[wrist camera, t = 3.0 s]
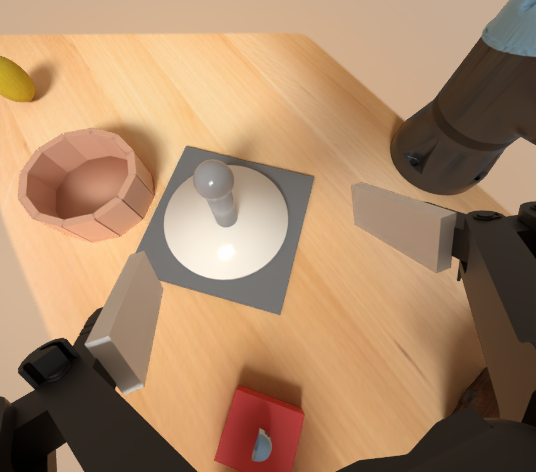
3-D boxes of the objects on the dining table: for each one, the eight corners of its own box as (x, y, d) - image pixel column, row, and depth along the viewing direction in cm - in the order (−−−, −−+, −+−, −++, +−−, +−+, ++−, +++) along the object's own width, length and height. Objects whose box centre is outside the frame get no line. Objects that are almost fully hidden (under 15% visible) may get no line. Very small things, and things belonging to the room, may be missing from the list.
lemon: (53, 95, 47) (12, 51, 39) (31, 116, 45) (-16, 74, 37) (30, 85, 47) (-14, 39, 40) (7, 105, 46) (-43, 61, 38)
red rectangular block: (301, 407, 31) (309, 426, 25) (285, 475, 28) (290, 513, 23) (238, 384, 31) (233, 397, 26) (218, 448, 29) (206, 479, 23)
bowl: (85, 146, 43) (58, 119, 37) (168, 167, 42) (153, 142, 36) (34, 226, 38) (-6, 208, 32) (127, 252, 37) (102, 238, 31)
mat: (186, 148, 43) (186, 146, 43) (313, 178, 41) (314, 177, 41) (128, 271, 36) (127, 270, 35) (280, 315, 34) (280, 314, 34)
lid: (192, 158, 42) (162, 86, 29) (299, 184, 40) (315, 121, 28) (146, 261, 36) (84, 225, 23) (269, 295, 34) (272, 277, 22)
